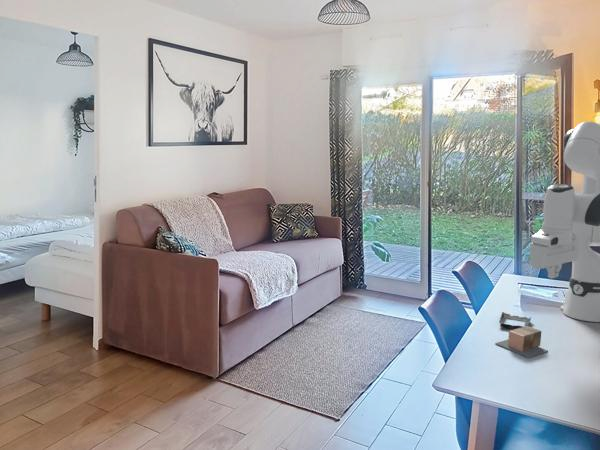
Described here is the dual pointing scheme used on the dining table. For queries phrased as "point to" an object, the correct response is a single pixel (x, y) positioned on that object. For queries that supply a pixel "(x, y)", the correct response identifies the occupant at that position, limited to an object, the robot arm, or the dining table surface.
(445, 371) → the dining table surface
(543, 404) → the dining table surface
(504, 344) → the charcoal mat
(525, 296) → the dining table surface
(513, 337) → the brown rectangular block
